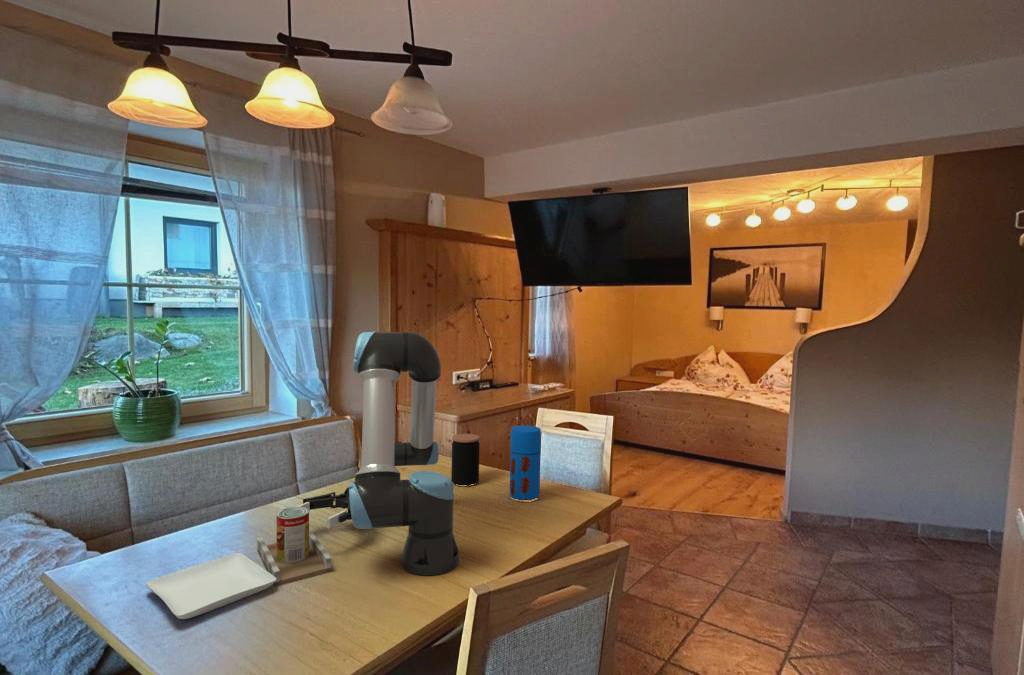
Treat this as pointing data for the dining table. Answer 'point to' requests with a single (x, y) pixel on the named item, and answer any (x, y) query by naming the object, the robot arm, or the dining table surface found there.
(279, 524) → the canned food
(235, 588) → the salad plate
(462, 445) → the coffee jar
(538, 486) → the thermos
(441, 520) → the robot arm
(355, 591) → the dining table surface
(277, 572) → the track
